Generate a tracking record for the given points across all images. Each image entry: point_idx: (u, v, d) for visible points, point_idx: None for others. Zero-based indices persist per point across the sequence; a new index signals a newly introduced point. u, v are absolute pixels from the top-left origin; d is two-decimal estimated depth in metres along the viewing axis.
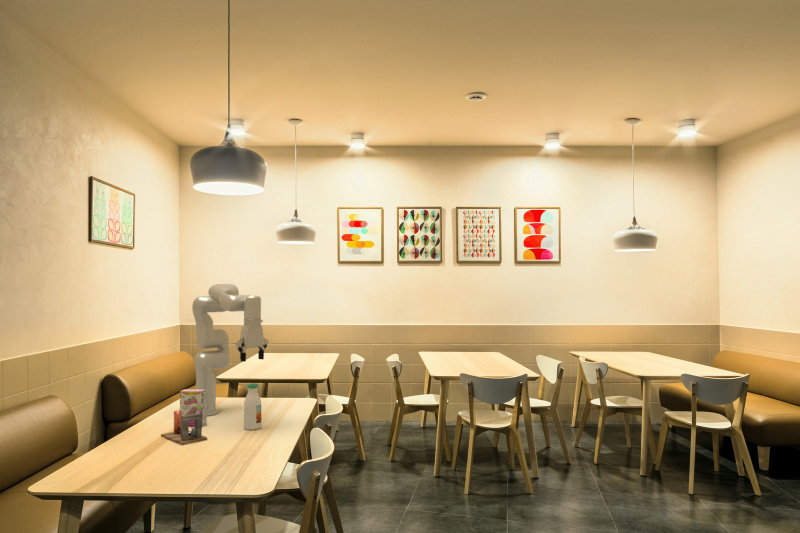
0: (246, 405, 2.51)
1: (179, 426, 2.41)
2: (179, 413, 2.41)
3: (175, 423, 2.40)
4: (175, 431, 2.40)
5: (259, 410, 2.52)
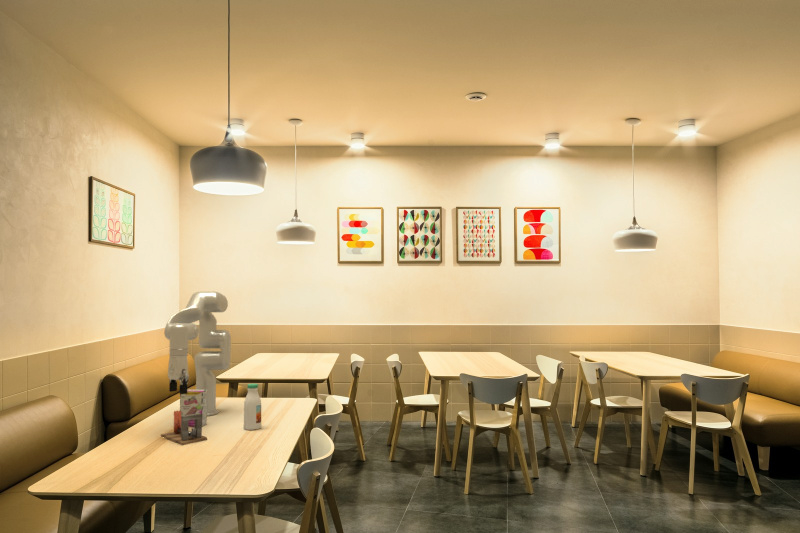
0: (246, 405, 2.51)
1: (179, 426, 2.41)
2: (179, 413, 2.41)
3: (175, 423, 2.40)
4: (175, 431, 2.40)
5: (259, 410, 2.52)
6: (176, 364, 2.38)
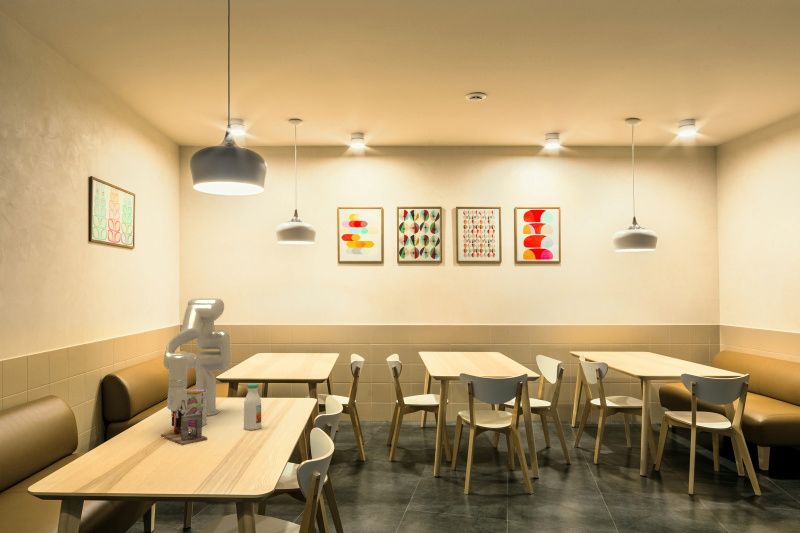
0: (246, 405, 2.51)
1: None
2: None
3: (175, 423, 2.40)
4: (175, 431, 2.40)
5: (259, 410, 2.52)
6: (175, 395, 2.38)
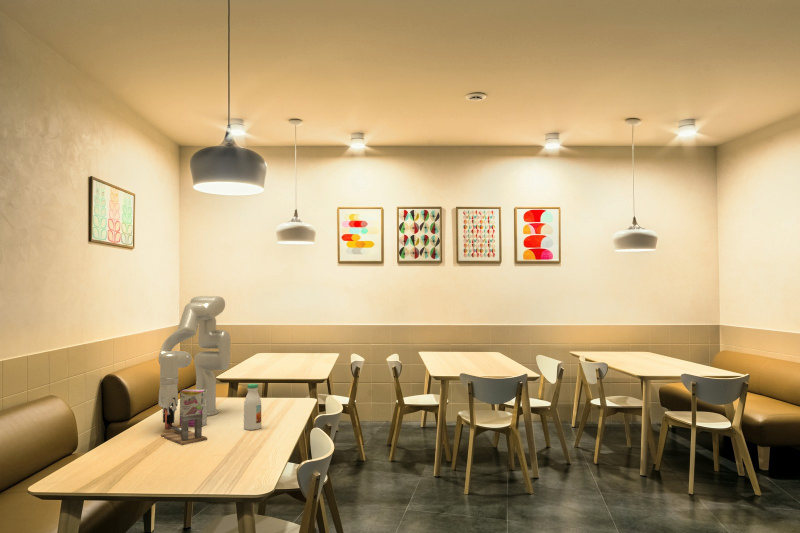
0: (246, 405, 2.51)
1: None
2: None
3: (166, 420, 2.46)
4: (166, 428, 2.46)
5: (259, 410, 2.52)
6: (166, 393, 2.44)
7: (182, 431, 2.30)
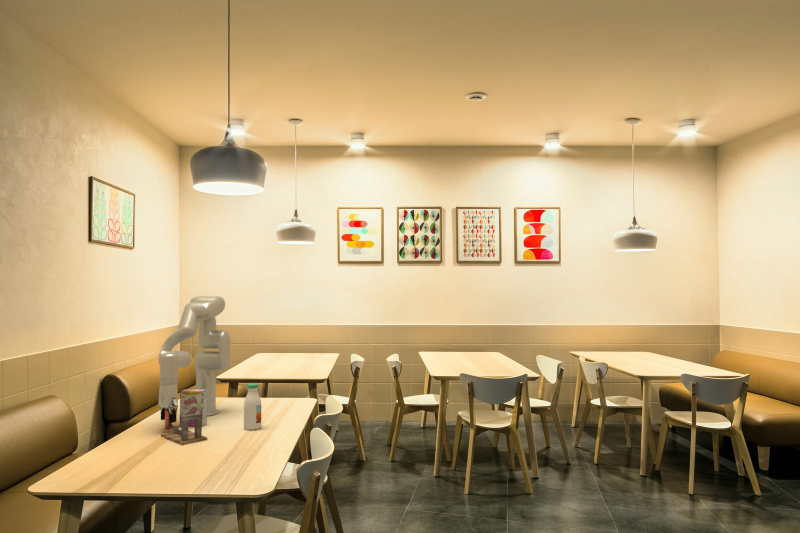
0: (246, 405, 2.51)
1: (170, 423, 2.47)
2: None
3: (166, 420, 2.46)
4: (166, 428, 2.46)
5: (259, 410, 2.52)
6: (166, 393, 2.44)
7: (182, 431, 2.30)
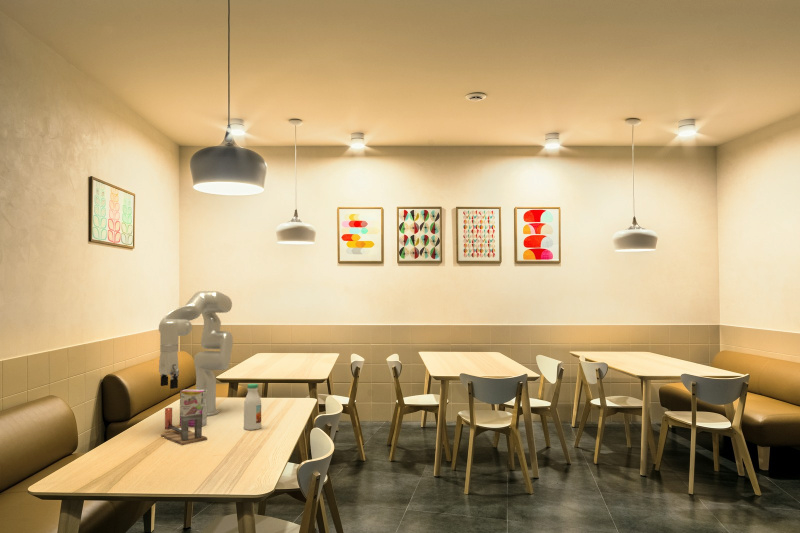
0: (246, 405, 2.51)
1: (170, 423, 2.47)
2: (170, 410, 2.47)
3: (166, 420, 2.46)
4: (166, 428, 2.46)
5: (259, 410, 2.52)
6: (166, 359, 2.44)
7: (182, 431, 2.30)
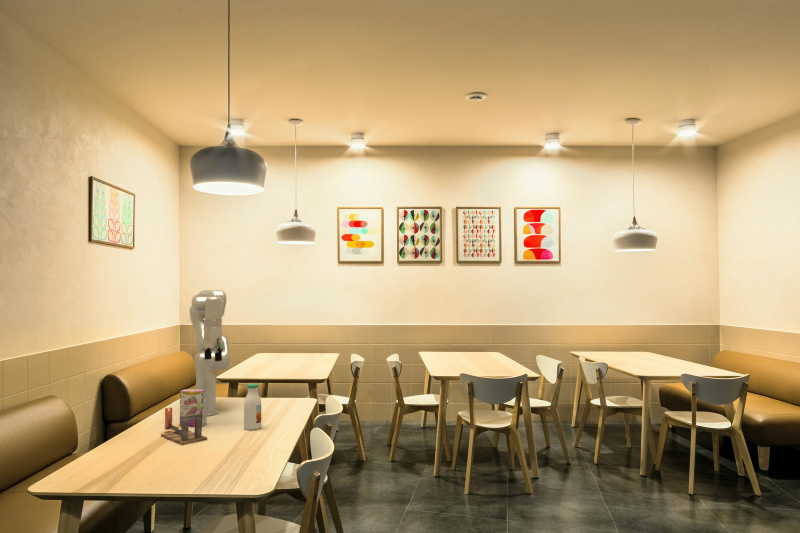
0: (246, 405, 2.51)
1: (170, 423, 2.47)
2: (170, 410, 2.47)
3: (166, 420, 2.46)
4: (166, 428, 2.46)
5: (259, 410, 2.52)
6: (211, 333, 2.56)
7: (182, 431, 2.30)
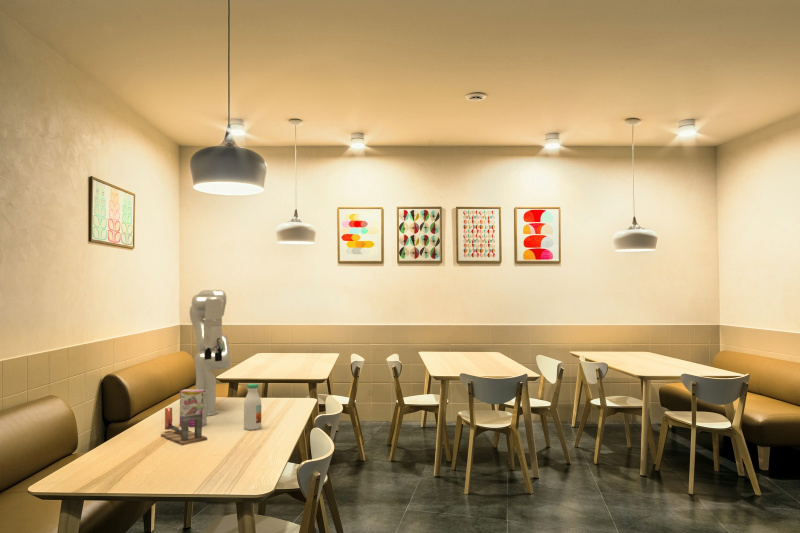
0: (246, 405, 2.51)
1: (170, 423, 2.47)
2: (170, 410, 2.47)
3: (166, 420, 2.46)
4: (166, 428, 2.46)
5: (259, 410, 2.52)
6: (211, 333, 2.56)
7: (182, 431, 2.30)
